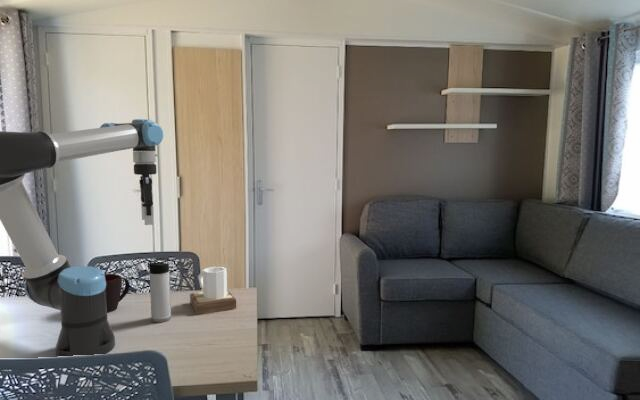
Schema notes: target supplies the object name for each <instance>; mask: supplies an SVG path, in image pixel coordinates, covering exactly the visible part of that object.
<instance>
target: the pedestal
mask: <svg viewBox="0 0 640 400" xmlns="http://www.w3.org/2000/svg"><path fill="white" fill-rule="evenodd" d="M189 302H190V304H192V305H191V306H192V308H193V310H194V311H196V312H195V313H196V315H197V316H198V314H199V315H204V314H203V313H205V314H211V313H210V312H212V313H217V312H216V311H218V312H223V311H222V310H225V311H229V310H228V309H231V310H234V309H233V308H236V309H237V299H236V297H235V296H234V295H233V294H232V293H231V292H230V291H229V290H228V289H227V295H226V296H225V297H222V298H218V299H207V298H205V297H203V291H197V292H192V293H189Z"/></svg>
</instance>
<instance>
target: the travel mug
mask: <svg viewBox="0 0 640 400" xmlns="http://www.w3.org/2000/svg"><path fill="white" fill-rule="evenodd" d="M148 267H149V287H150V288H149V290H150V294H149V295H150V310H151V312H150V314H151V317H150V318H151V321H152V322H153V323H157V324H158V323H165V322H167V321H168V322H169V320H171V318H172V311H171V310H172V309H171V284H170V282H171V281H170V263H165V262H150V263H149V266H148Z"/></svg>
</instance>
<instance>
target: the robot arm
mask: <svg viewBox="0 0 640 400" xmlns="http://www.w3.org/2000/svg"><path fill="white" fill-rule="evenodd" d="M163 139H164V131H163V129H162V127H161V125H160V124H159V123H157V122H156V121H153V120H152V119H143V118H140V119H139V118H137V119H132V120H131V122H126V123H125V122H124V123H123V122H122V123H115V122H114V123H113V122H105V123H103V124H101V125H100V126H99V127H96V128H88V129H81V130H72V131H66V132H65V131H64V132H56V133H50V134H49V133H48V132H46V131H43V130H41V131H40V130H39V131H30V132H27V131H23V132H21V131H1V130H0V222H1V224H2V226H3V227H4V229H5V230H4V231H6V233H7V235H8V237H9V239H10V240H11V243H12V244H13V247H14V248H15V251H16V252H17V254H18V255H19V257H20V259H21V261H22V263H23V265H24V266H25V268H24V271H23V272H22V277H23V278H24V280H25V282H24V285H23V287H24V288H23V290H24V293H25V295H26V296H27V298H29V300H31V301H32V302H34V303H35V304H37V305H39V306H42V307H48V308H51V309H55V310H58V311H60V321H61V322H60V323H61V328H60V332H59V335H58V338H57V342H56V345H55V356H73V355H94V354H103V355H106V354H107V353H109V352H110V351H112V350H113V349H114V348H115V346H116V337H115V335H114V332H113V329H112V328H111V324H110V323H109V321H108V313H107V303H106V281H105V272H104V271H103V270H102V269H100V268H98V267H95V266H90V265H89V266H88V265H87V266H85V265H75V266H72V267H71V265H70V263H69V260H68V259H67V257H66V256H65V255H62V254H59V253H58V251H57V250H56V247H55V246H54V244H53V242H52V239H51V238H50V235H49V233H48V231H47V229H46V228H45V225H44V224H43V222H42V219H41V218H40V215H39V214H38V211H37V209H36V207H35V206H34V205H35V204H34V203H33V201H32V199H31V198H30V197H31V196H30V195H29V193H28V192H27V189H26V186H25V185H24V183H23V180H24V177H25V176H26V174H29V173H33V172H36V171H41V170H45V169H49V168H53V167H55V166H56V164H57V163H60V162H61V163H62V162H66V161H67V162H68V161H70V160H76V159H82V158H83V159H84V158H87V157H92V156H93V157H94V156H98V155H103V154H109V153H115V152H121V151H126V150H130V149H132V159H133V160H132V162H133V163H134V165H133V174H134V175H138V176H140V177H139V178H140V179H139V181H138V182H139V189H140V202H141V207H140V208H141V220H142V221H144V226H150V225H151V226H153V225H154V216H153V215H154V214H153V212H154V211H153V210H154V209H153V205H154V201H153V180H152V177H150V175H156V174H157V164H156V162H157V158H156V157H159V156H158V154H157V153H156V146H159V145H160V144H161V143H162V142H163Z"/></svg>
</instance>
